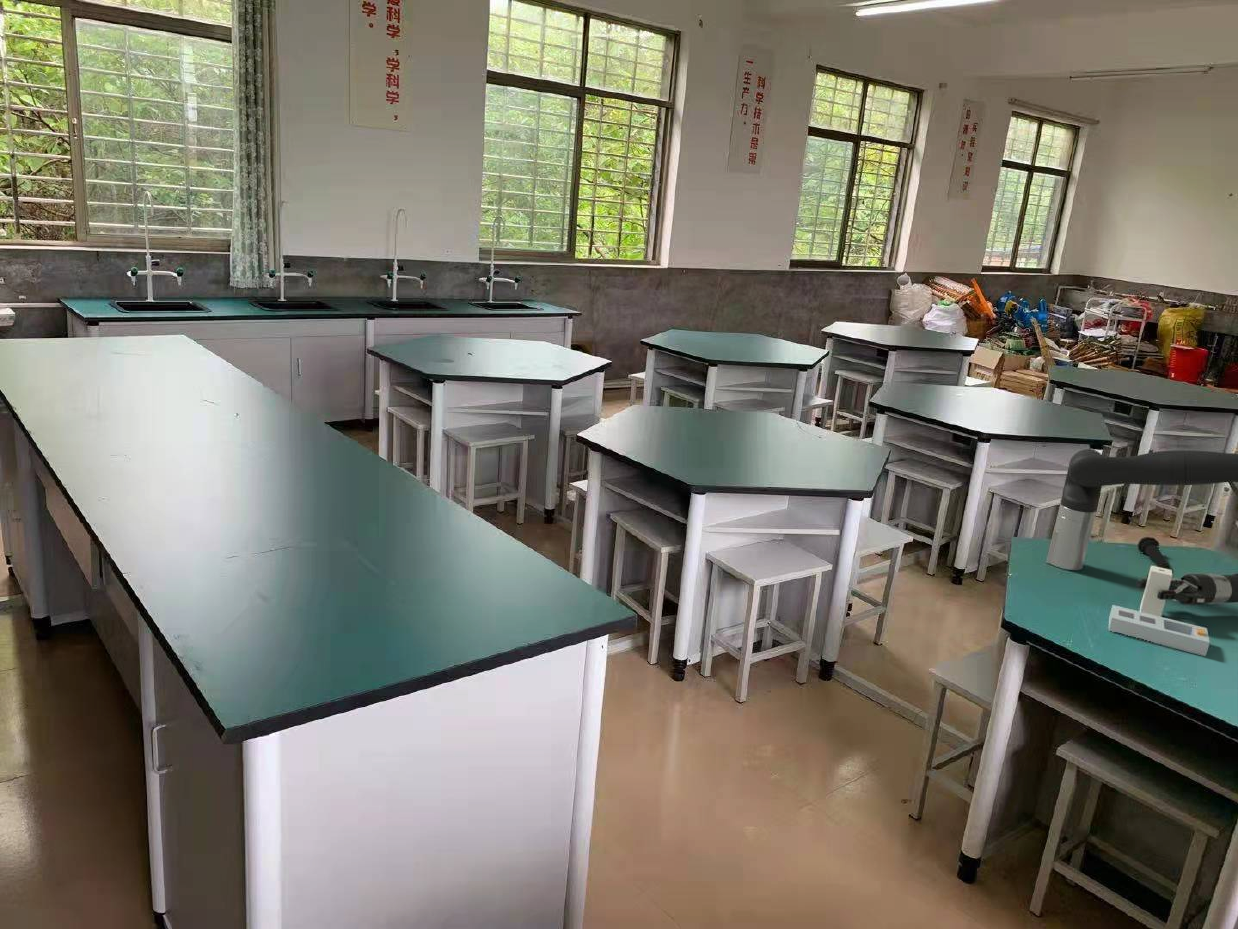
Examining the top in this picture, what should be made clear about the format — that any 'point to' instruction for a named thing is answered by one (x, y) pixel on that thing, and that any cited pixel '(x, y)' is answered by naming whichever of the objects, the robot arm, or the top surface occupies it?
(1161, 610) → the block
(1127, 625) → the power strip
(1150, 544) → the microphone
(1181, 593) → the robot arm
